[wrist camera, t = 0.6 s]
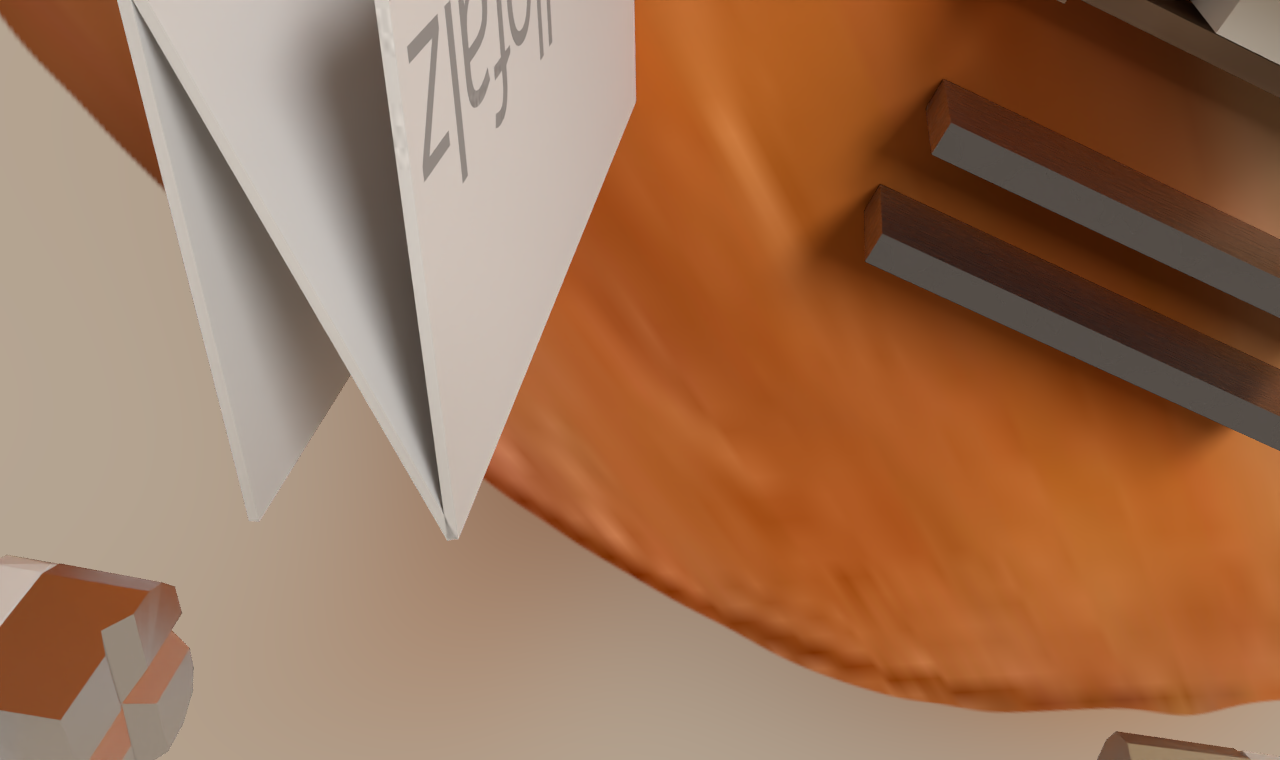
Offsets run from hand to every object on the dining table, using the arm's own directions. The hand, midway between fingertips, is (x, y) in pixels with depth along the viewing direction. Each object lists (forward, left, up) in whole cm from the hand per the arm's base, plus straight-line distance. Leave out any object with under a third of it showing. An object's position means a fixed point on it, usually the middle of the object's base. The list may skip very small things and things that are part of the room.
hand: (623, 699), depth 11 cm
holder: (+10, +21, -45) cm, 51 cm away
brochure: (+8, -7, -45) cm, 46 cm away
